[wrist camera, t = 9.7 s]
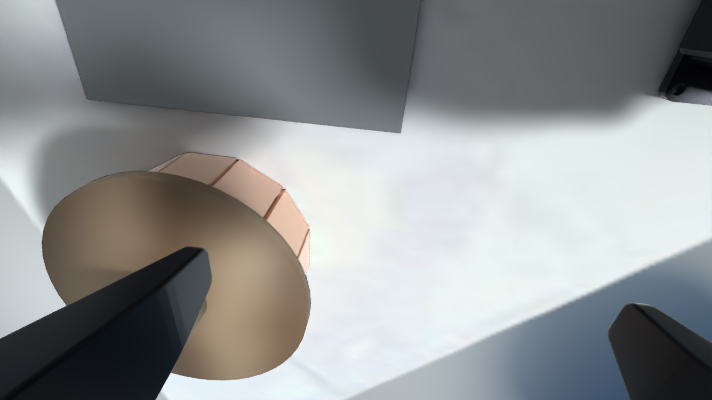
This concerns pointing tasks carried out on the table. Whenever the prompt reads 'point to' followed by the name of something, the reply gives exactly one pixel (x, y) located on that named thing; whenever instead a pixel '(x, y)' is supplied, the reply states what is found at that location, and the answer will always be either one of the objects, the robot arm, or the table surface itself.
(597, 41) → the table surface
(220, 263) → the lid
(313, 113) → the mat
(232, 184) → the bowl
